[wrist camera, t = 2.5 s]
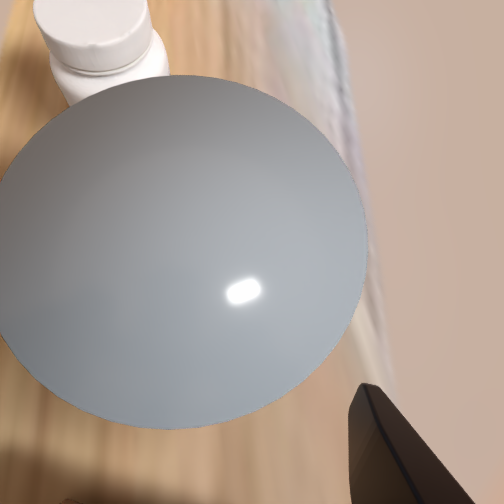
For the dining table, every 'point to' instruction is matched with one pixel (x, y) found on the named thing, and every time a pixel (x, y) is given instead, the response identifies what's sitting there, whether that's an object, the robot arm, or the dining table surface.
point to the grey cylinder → (178, 252)
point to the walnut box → (69, 502)
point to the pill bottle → (99, 44)
